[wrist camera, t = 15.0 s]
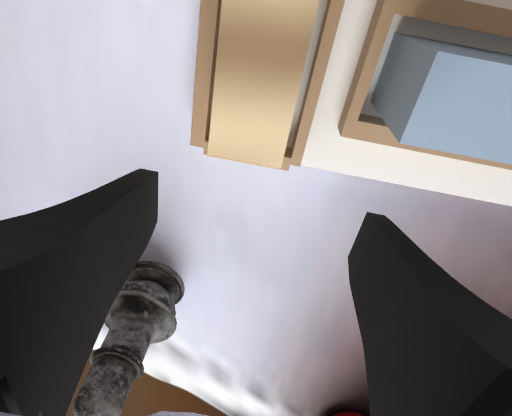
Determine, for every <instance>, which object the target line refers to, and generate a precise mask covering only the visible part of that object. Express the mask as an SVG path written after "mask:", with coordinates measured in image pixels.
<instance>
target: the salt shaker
mask: <svg viewBox="0 0 512 416" xmlns="http://www.w3.org/2000/svg"><path fill="white" fill-rule="evenodd" d="M183 295H184V284H183V282H182V280H181V278H180V277H179V276H178V275H177V274H176V273H175V272H174V271H173V270H172V269H170V268H169V267H167V266H164V265H162V264H160V263H155V262H149V261H142V262H137V264H136V265H135V267H134V269H133V270H132V272H131V274H130V275H129V277H128V279H127V280H126V282H125V283H124V285H123V287H122V288H121V290H120V292H119V293H118V295H117V297H116V299H115V301H114V303H113V304H112V306H111V308H110V311H109V313H108V315H107V317H106V319H105V322H104V323H105V324H106V326H107V327H108V328H109V331H108V334H107V336H106V338H105V340H104V342H103V343H102V345H101V347H100V348H99V349H97V350H95V351H94V352H93V353H92V354H91V357H90V362H91V364H92V367H91V369H90V371H89V373H88V375H87V377H86V378H85V380H84V383H83V384H82V386H81V388H80V390H79V392H78V394H77V396H76V398H75V400H74V403H73V412H74V415H75V416H120V414H121V412H122V409H123V407H124V404H125V402H126V399H127V397H128V394H129V391H130V389H131V387H132V384H133V381H134V380H136V379H138V378H140V377H141V376H142V374H143V372H144V367H143V365H142V362H143V359H144V357H145V354H146V352H147V349H148V347H149V345H150V344H152V343H159V342H162V341H164V340H167V339H168V338H169V337H171V336H172V335H173V333H174V332H175V330H176V324H177V322H176V318H175V314H176V312H175V304H177V303H178V302H179V301H180V300H181V299H182V297H183Z"/></svg>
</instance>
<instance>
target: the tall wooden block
mask: <svg viewBox="0 0 512 416" xmlns="http://www.w3.org/2000/svg"><path fill="white" fill-rule="evenodd" d="M318 4H319V0H222V4H221V15H220V26H219V36H218V47H217V58H216V68H215V79H214V90H213V100H212V111H211V122H210V133H209V143H208V154H207V156H210V157H216V158H221V159H226V160H232V161H237V162H243V163H248V164H253V165H259V166H264V167H269V168H275V169H280V170H281V167H282V163H283V158H284V154H285V150H286V145H287V141H288V136H289V132H290V127H291V123H292V119H293V114H294V110H295V105H296V101H297V97H298V92H299V88H300V83H301V79H302V75H303V70H304V66H305V61H306V57H307V53H308V48H309V44H310V39H311V35H312V31H313V26H314V22H315V17H316V13H317V9H318Z"/></svg>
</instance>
